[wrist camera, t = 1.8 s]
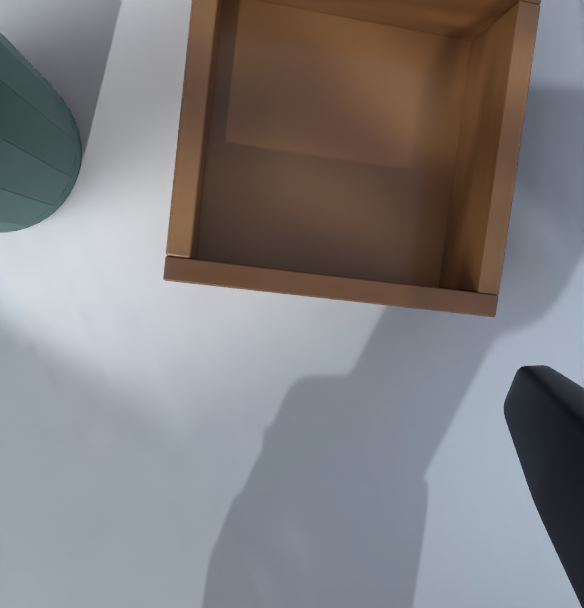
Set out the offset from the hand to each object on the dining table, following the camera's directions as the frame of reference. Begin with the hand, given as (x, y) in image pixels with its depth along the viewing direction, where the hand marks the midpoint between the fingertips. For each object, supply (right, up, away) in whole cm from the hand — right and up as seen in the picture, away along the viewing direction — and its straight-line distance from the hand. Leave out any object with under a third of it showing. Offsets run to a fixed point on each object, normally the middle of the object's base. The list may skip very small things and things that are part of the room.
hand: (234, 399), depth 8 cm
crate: (+3, +8, +14) cm, 16 cm away
